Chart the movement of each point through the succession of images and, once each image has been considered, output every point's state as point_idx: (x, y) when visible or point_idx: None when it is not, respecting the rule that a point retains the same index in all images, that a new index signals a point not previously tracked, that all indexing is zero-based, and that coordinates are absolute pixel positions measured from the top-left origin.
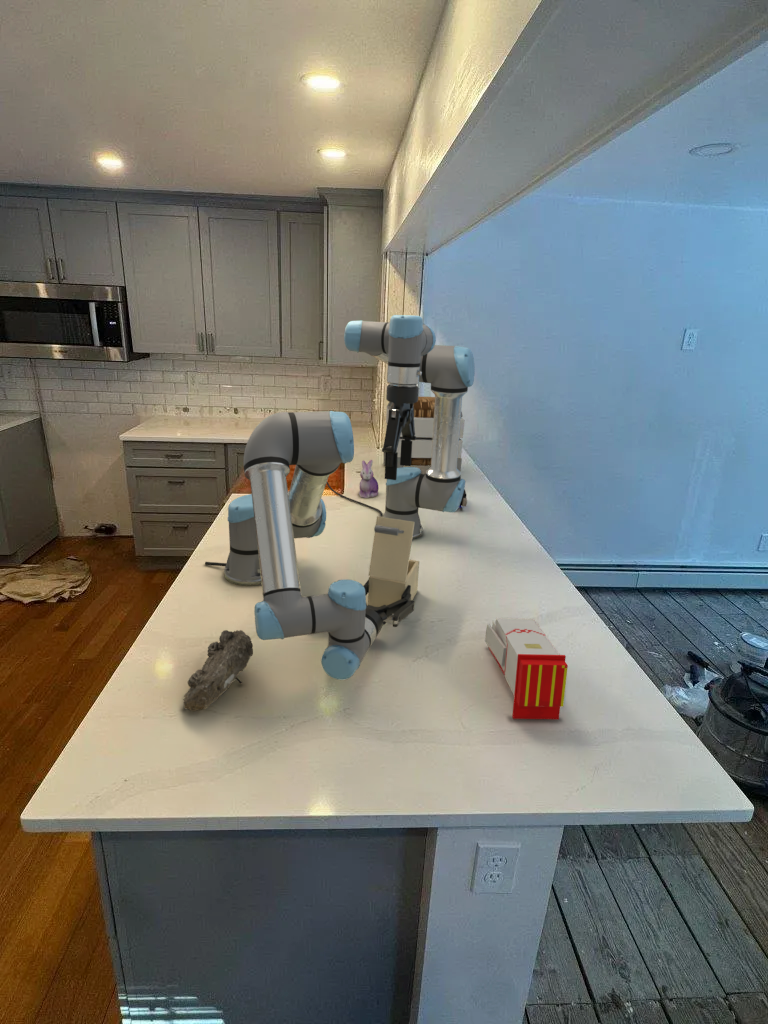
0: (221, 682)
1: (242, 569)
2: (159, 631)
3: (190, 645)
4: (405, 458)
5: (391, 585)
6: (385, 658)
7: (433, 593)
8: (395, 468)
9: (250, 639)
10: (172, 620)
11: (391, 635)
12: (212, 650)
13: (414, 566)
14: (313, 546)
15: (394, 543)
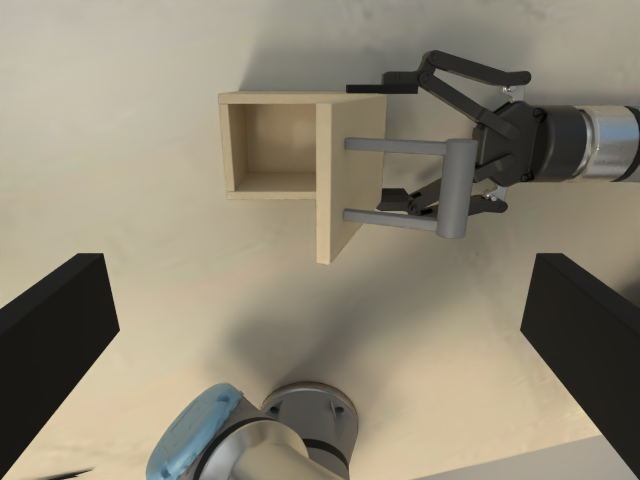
0: None
1: (353, 440)
2: (527, 443)
3: (556, 392)
4: (77, 329)
5: None
6: (542, 81)
7: (225, 46)
8: (627, 308)
9: None
10: (493, 444)
11: None
12: None
13: (261, 98)
14: (133, 377)
15: (357, 160)
